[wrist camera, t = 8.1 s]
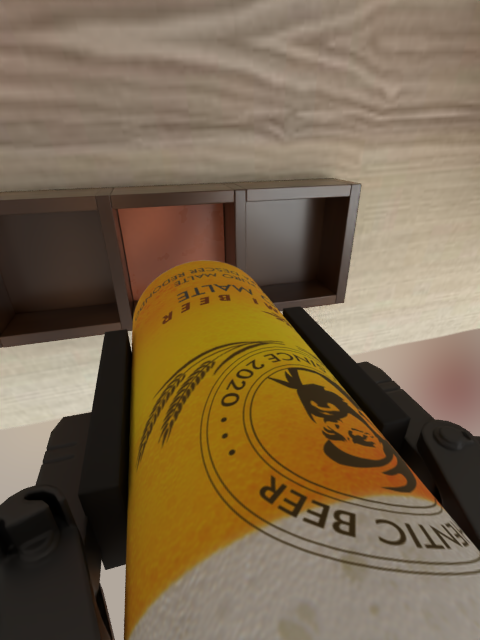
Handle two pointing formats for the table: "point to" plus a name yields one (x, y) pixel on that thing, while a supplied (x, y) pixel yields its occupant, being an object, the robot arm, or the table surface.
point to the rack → (164, 248)
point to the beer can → (271, 487)
